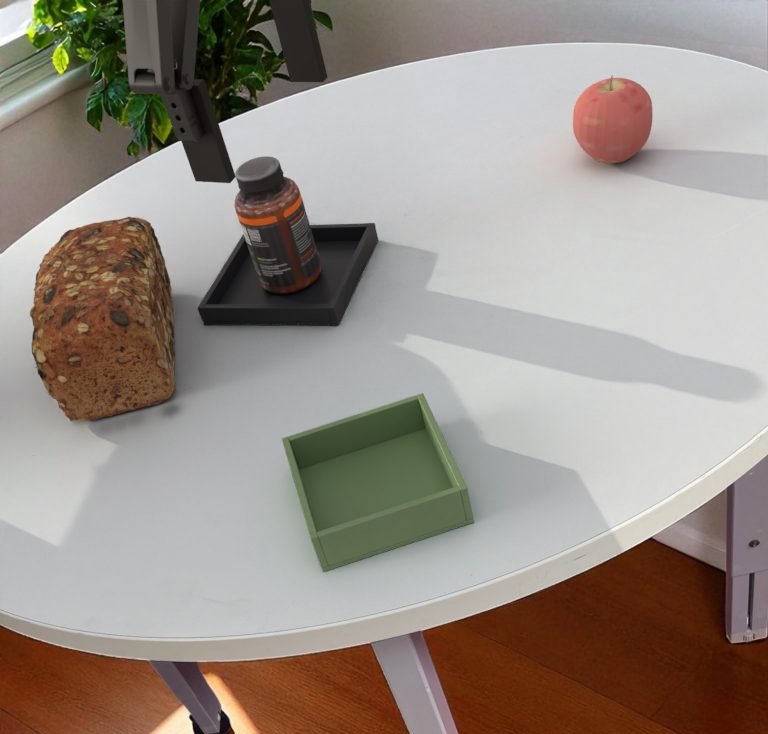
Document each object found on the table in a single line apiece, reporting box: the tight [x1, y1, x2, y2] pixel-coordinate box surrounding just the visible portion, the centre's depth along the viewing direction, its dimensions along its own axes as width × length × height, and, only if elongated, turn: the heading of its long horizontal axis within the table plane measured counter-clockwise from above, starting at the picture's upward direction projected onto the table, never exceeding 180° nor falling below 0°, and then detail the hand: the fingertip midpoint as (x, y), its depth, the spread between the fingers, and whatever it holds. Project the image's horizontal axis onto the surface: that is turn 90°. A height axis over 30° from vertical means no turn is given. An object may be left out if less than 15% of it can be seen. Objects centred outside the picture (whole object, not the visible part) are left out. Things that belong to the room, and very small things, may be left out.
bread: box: [29, 216, 176, 422], centre depth 93 cm, size 19×11×10 cm, turn 9°
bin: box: [281, 392, 475, 573], centre depth 76 cm, size 11×11×3 cm
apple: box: [572, 75, 653, 164], centre depth 101 cm, size 7×7×8 cm
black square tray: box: [197, 222, 379, 327], centre depth 99 cm, size 13×13×2 cm
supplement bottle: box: [233, 155, 321, 294], centre depth 95 cm, size 6×6×11 cm
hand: (265, 127), depth 73 cm, fingers open, 13 cm apart
